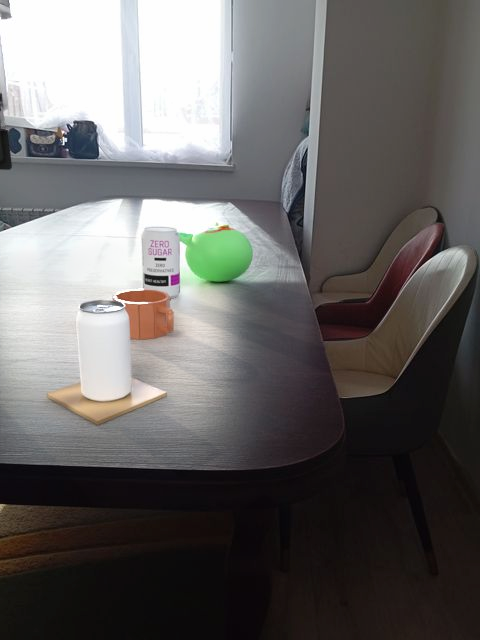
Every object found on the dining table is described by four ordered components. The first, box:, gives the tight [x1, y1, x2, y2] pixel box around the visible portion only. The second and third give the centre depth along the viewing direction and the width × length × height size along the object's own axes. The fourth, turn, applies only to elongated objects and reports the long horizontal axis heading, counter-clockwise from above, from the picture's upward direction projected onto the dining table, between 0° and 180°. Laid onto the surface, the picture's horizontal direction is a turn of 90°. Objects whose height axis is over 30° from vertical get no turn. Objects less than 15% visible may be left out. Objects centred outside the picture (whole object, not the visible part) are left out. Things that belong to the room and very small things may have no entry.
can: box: [75, 299, 133, 402], centre depth 66 cm, size 6×6×12 cm
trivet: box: [46, 376, 168, 426], centre depth 68 cm, size 11×11×1 cm
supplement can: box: [140, 226, 181, 300], centre depth 115 cm, size 8×8×15 cm
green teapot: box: [177, 221, 254, 283], centre depth 132 cm, size 18×17×15 cm
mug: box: [111, 288, 175, 340], centre depth 92 cm, size 13×10×6 cm
